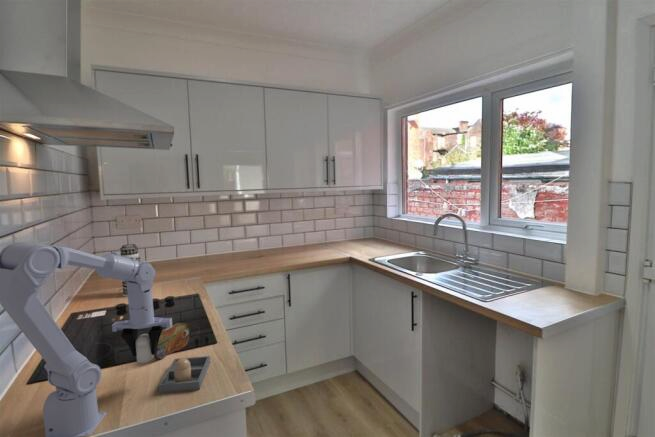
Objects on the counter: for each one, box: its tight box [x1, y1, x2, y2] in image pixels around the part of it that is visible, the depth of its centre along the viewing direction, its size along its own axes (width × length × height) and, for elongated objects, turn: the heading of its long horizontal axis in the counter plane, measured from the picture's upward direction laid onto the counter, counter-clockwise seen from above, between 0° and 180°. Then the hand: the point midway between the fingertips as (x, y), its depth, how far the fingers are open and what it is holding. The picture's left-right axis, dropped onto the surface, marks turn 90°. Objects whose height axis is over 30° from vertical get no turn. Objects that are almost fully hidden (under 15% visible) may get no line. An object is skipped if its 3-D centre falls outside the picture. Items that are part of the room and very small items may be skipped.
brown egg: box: [174, 357, 192, 383], centre depth 96 cm, size 4×4×7 cm
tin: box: [154, 322, 192, 360], centre depth 115 cm, size 15×3×8 cm, turn 158°
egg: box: [135, 333, 155, 364], centre depth 96 cm, size 4×4×7 cm
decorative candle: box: [119, 243, 142, 298], centre depth 175 cm, size 9×9×25 cm
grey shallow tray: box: [158, 355, 211, 394], centre depth 100 cm, size 10×14×3 cm
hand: (145, 353), depth 96 cm, fingers closed on egg, 4 cm apart
